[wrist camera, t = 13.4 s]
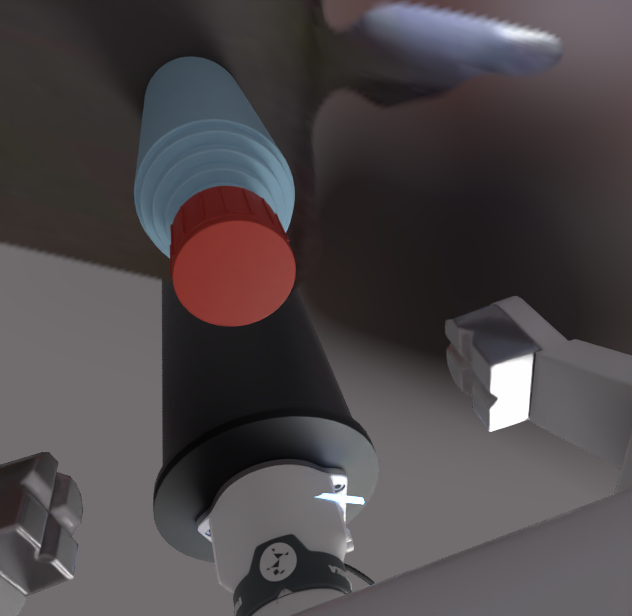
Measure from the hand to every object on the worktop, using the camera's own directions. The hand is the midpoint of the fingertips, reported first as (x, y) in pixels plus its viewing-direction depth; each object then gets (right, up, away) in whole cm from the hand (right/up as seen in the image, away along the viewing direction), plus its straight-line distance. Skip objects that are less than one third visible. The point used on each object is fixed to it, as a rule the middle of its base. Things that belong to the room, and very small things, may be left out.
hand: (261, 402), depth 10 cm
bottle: (-7, +15, +23) cm, 29 cm away
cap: (-2, +4, +8) cm, 9 cm away
